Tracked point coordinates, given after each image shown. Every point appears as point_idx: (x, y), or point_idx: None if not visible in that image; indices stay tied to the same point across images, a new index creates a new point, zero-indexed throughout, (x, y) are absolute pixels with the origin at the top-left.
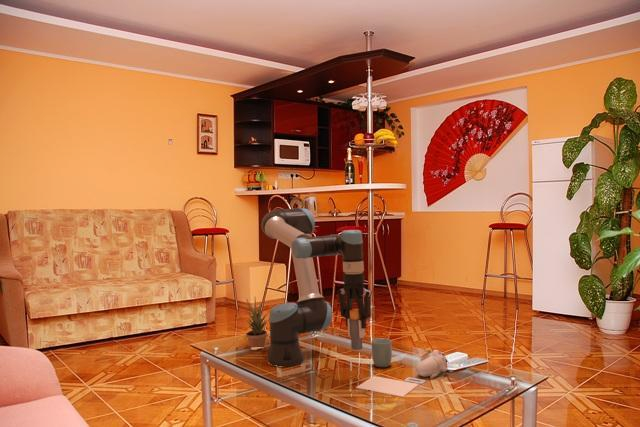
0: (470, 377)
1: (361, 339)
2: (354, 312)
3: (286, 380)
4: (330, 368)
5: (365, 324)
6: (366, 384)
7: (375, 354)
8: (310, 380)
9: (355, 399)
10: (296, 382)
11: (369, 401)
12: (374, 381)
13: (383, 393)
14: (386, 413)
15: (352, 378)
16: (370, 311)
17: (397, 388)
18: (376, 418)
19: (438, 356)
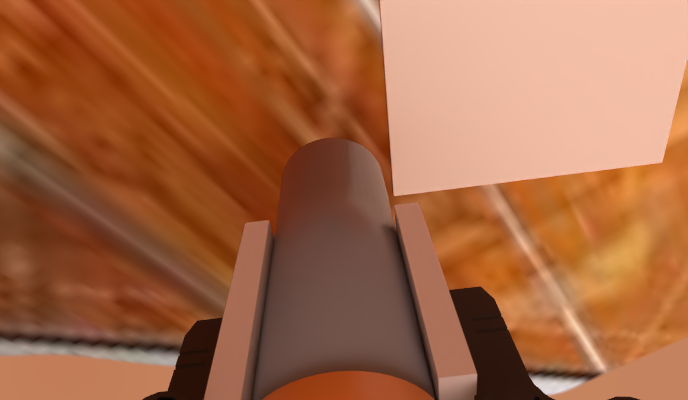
0: None
1: (393, 221)
2: None
3: (35, 298)
4: (15, 20)
5: (504, 338)
6: (420, 136)
7: None
8: (123, 239)
9: (465, 284)
10: (97, 290)
11: (529, 269)
12: (435, 71)
13: (552, 174)
14: (636, 311)
15: (281, 91)
16: None
17: (604, 88)
18: (614, 352)
19: None
